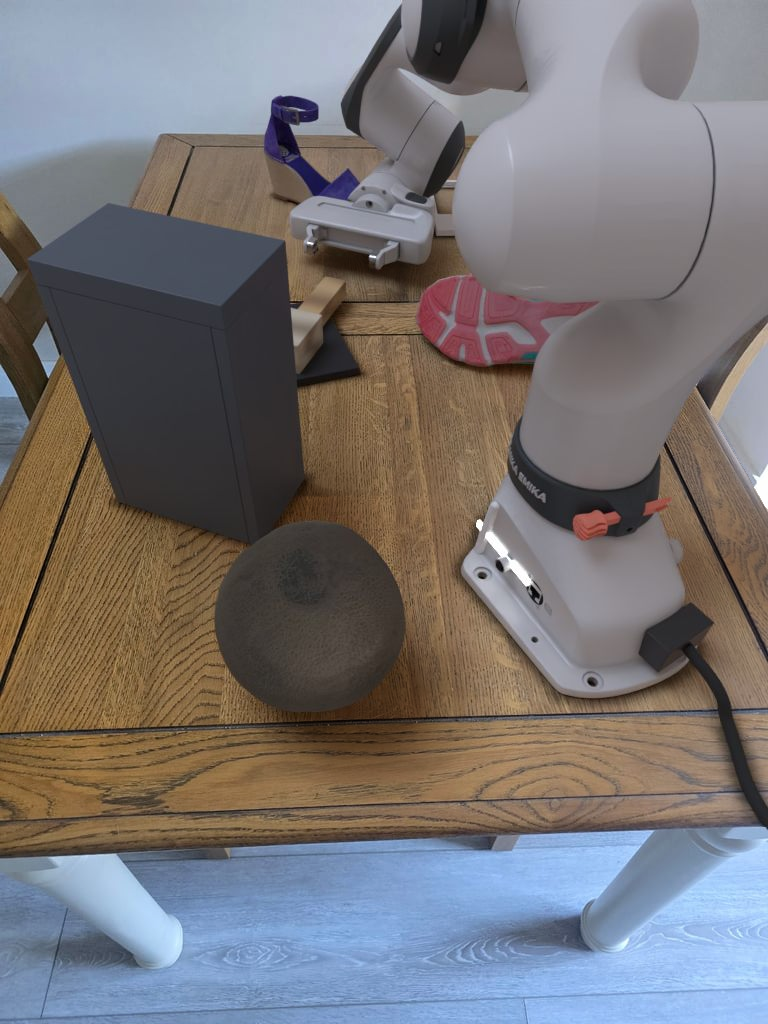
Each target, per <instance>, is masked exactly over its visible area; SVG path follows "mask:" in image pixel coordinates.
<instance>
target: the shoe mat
mask: <svg viewBox="0 0 768 1024" xmlns="http://www.w3.org/2000/svg"><path fill="white" fill-rule="evenodd" d="M303 302H304V301H301V302H296V303H290V304H291V308H294V309H298V308H299V307H300V306H301V304H302V303H303ZM359 369H360V368H359V366H358V364H357V362H356V361H355V359H354V357H353V354H352V353H351V351H350V350H349V347H348V346H347V343H346V342H345V340H344V338H343V337H342V334H341V332H340V330H339V329H338V327H337V325H336V324H335V321H334V320H333V318H332V316H331V317H330V318H329V319H328V321H327V322H326V323H325V324H324V326H323V344H322V345H321V347H320V348H319V349H318V351H317V352H316V353H315V355H314V356H313V357H312V359H311V360H310V361H309V363H308V364H307V365H306V366H305V368H304V369H303V370H302V372H301V373H300V374H297V373H296V379H297V387H300V386H306V385H311V384H315V383H321V382H326V381H330V380H332V381H333V380H336V379H342V378H348V377H352V376H356V375H357V376H358V375H359Z"/></svg>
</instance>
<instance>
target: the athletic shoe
mask: <svg viewBox="0 0 768 1024" xmlns="http://www.w3.org/2000/svg"><path fill="white" fill-rule="evenodd" d="M599 302H600V301H597V302H575V303H553V302H546V301H540V300H533V299H526V298H520V297H515V296H510V295H505V294H499V293H494V292H490V291H487V290H486V289H485V288H484V287H483V286H482V285H481V284H480V283H479V282H478V281H477V280H476V279H475V277H474V276H473V275H472V274H463V275H461V274H460V275H458V274H457V275H451V276H448V277H444V278H439V279H437V280H436V281H435V282H434V283H432V284H431V285H429V286H428V287H426V289H425V290H424V291H423V293H422V294H421V296H420V299H419V303H418V308H417V310H416V313H415V321H414V322H415V325H416V326H417V327H418V329H419V330H420V332H421V334H422V335H423V336H424V337H425V339H427V340H428V341H429V342H430V343H431V344H432V345H433V346H434V347H435V348H437V349H438V350H439V351H440V352H441V353H442V354H444V355H445V356H446V357H448V358H449V359H451V360H453V361H456V362H463V363H465V364H466V365H469V366H473V367H479V368H481V367H482V368H483V367H490V366H493V365H504V364H524V365H526V364H528V365H534V364H535V360H536V357H537V355H538V353H539V351H540V349H541V347H542V346H543V344H544V343H545V341H546V340H547V339H548V337H549V336H550V335H551V334H552V333H553V332H554V331H555V330H556V329H557V328H558V327H559V326H561V325H562V324H563V323H565V322H566V321H568V320H569V319H571V318H573V317H575V316H576V315H578V314H580V313H582V312H584V311H586V310H587V309H589V308H591V307H593V306H594V305H596V304H597V303H599Z"/></svg>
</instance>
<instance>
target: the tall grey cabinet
mask: <svg viewBox="0 0 768 1024" xmlns="http://www.w3.org/2000/svg"><path fill="white" fill-rule="evenodd" d="M26 261H27V263H28V267H29V269H30V273H31V274H32V277H33V280H34V283H35V285H36V288H37V290H38V293H39V296H40V299H41V301H42V304H43V306H44V309H45V312H46V314H47V317H48V320H49V323H50V325H51V328H52V330H53V333H54V335H55V339H56V341H57V344H58V347H59V349H60V352H61V356H62V358H63V360H64V363H65V365H66V368H67V371H68V374H69V376H70V379H71V381H72V385H73V387H74V390H75V392H76V395H77V397H78V401H79V403H80V405H81V408H82V411H83V414H84V416H85V419H86V421H87V422H86V423H87V424H88V427H89V430H90V432H91V435H92V438H93V440H94V443H95V446H96V448H97V450H98V454H99V456H100V459H101V461H102V465H103V468H104V470H105V473H106V475H107V478H108V481H109V484H110V486H111V488H112V491H113V494H114V496H115V499H116V502H117V503H120V504H123V505H126V506H129V507H133V508H135V509H139V510H142V511H145V512H148V513H151V514H155V515H157V516H160V517H164V518H166V519H170V520H174V521H177V522H180V523H182V524H185V525H189V526H192V527H195V528H198V529H202V530H205V531H207V532H211V533H214V534H217V535H220V536H223V537H227V538H230V539H232V540H236V541H239V542H242V543H246V544H248V545H249V544H250V546H252V545H253V544H255V543H256V542H257V541H258V540H259V539H261V538H262V537H264V536H266V535H267V534H269V533H270V532H271V531H273V530H274V527H275V526H276V524H277V523H278V522H279V520H280V518H281V516H282V515H283V513H284V512H285V510H286V509H287V507H288V505H289V504H290V502H291V500H292V499H293V497H294V496H295V495H296V493H297V491H298V490H299V488H300V487H301V486H302V484H303V482H304V480H305V478H306V477H305V466H304V454H303V441H302V430H301V416H300V405H299V393H298V392H299V391H298V386H297V379H296V366H295V354H294V341H293V329H292V317H291V304H292V303H291V293H290V292H291V291H290V282H289V281H290V280H289V269H288V268H289V267H288V255H287V244H286V240H284V239H281V238H276V237H275V238H274V237H270V236H267V235H261V234H258V233H257V234H256V233H253V232H252V233H251V232H246V231H242V230H237V229H232V228H227V227H223V226H219V225H214V224H210V223H205V222H200V221H195V220H190V219H186V218H181V217H177V216H172V215H167V214H162V213H159V212H158V213H157V212H153V211H148V210H144V209H139V208H134V207H129V206H125V205H120V204H115V203H111V202H108V203H106V204H105V205H103V206H102V207H100V208H99V209H97V210H96V211H94V212H93V213H92V214H90V215H89V216H87V217H85V218H84V219H83V220H81V221H80V222H79V223H77V224H75V225H74V226H73V227H71V228H70V229H68V230H67V231H65V232H64V233H63V234H61V235H60V236H58V237H57V238H56V239H54V240H52V241H51V242H49V243H48V244H47V245H45V246H43V248H41V249H39V250H37V252H35V253H34V254H32V255H30V257H28V258H27V259H26Z"/></svg>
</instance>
